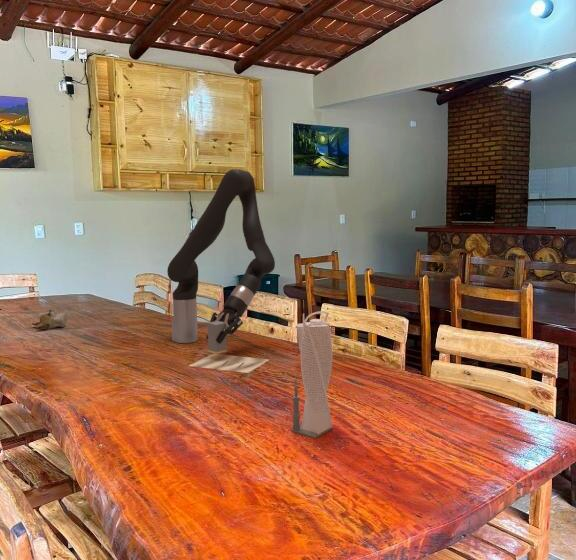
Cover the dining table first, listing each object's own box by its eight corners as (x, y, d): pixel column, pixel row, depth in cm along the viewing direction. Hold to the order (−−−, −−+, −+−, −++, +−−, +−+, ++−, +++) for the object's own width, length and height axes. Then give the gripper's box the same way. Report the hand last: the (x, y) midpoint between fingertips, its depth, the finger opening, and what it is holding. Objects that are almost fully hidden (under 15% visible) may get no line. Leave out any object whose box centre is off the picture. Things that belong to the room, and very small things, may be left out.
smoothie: (292, 351, 198) (292, 314, 196) (300, 347, 203) (300, 311, 201) (308, 353, 195) (308, 315, 193) (316, 349, 200) (315, 312, 198)
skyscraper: (312, 420, 134) (311, 308, 130) (339, 428, 129) (339, 312, 125) (291, 431, 127) (289, 314, 124) (318, 439, 122) (318, 318, 118)
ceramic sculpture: (68, 309, 240) (31, 314, 233) (70, 328, 241) (33, 334, 235) (65, 305, 249) (29, 311, 243) (68, 324, 251) (32, 329, 244)
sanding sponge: (208, 351, 184) (207, 322, 183) (218, 349, 187) (217, 320, 186) (216, 354, 181) (216, 324, 180) (226, 351, 184) (226, 322, 183)
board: (188, 370, 176) (187, 365, 176) (213, 357, 191) (212, 353, 191) (248, 377, 168) (248, 372, 168) (269, 363, 183) (269, 359, 182)
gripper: (219, 292, 192) (193, 331, 185) (247, 297, 182) (220, 338, 175) (231, 304, 196) (205, 343, 189) (258, 310, 187) (232, 350, 180)
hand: (213, 340), depth 182 cm, fingers closed on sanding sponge, 4 cm apart
